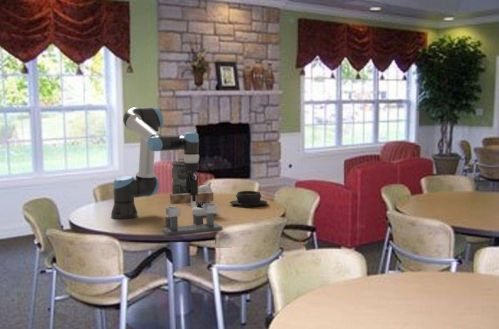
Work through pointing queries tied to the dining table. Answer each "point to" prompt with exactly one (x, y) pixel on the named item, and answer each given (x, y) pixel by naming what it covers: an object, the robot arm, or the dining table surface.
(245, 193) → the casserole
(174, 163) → the canister
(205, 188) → the decorative figurine
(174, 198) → the rail
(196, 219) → the rests
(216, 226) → the bracket stand
